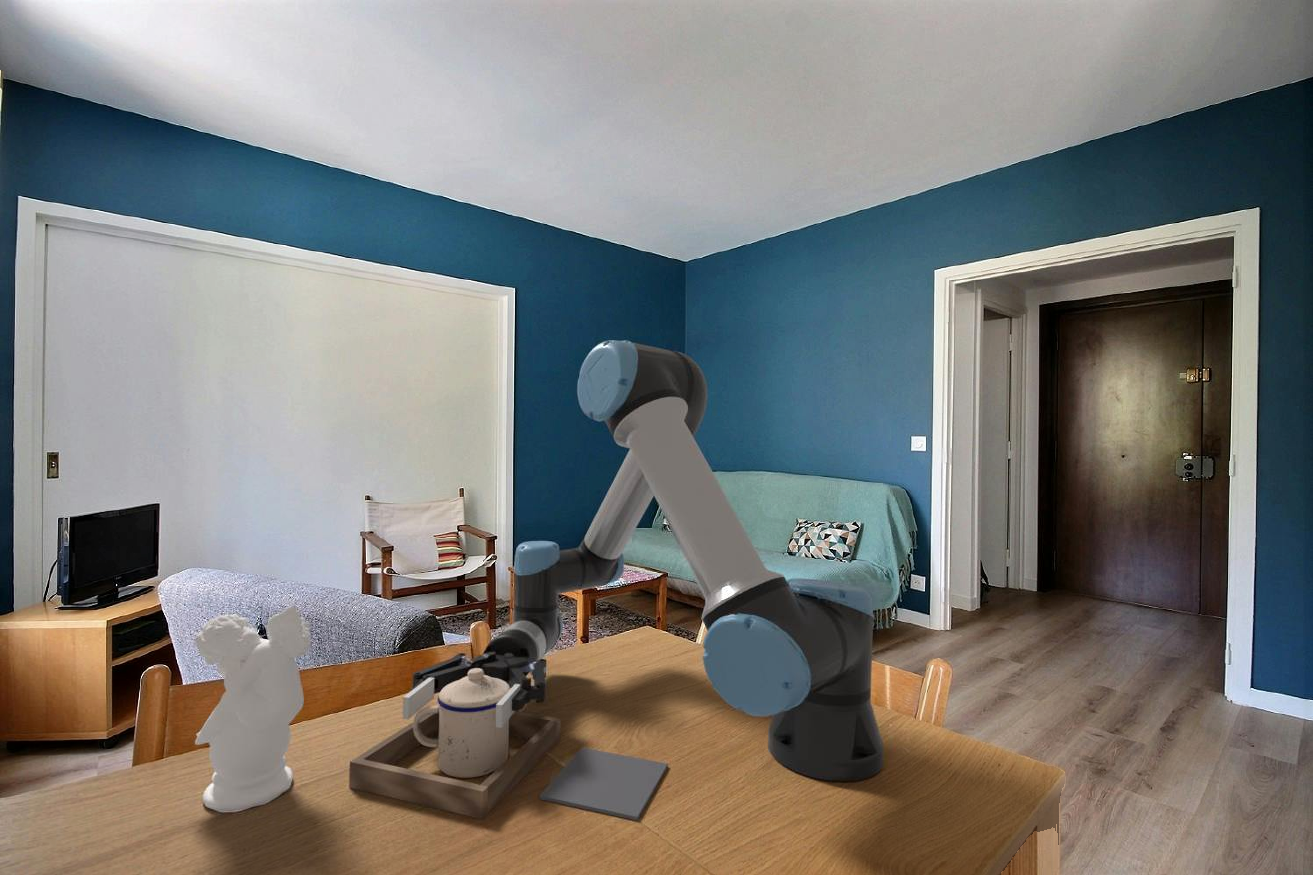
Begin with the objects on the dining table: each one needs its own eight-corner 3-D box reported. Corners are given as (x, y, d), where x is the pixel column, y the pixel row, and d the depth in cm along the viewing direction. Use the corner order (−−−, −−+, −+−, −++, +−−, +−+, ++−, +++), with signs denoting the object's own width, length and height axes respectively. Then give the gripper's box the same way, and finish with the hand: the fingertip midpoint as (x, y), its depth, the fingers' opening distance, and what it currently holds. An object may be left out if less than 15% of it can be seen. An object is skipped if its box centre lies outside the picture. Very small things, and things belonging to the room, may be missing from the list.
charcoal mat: (667, 766, 79) (667, 763, 79) (637, 820, 68) (637, 816, 68) (581, 750, 83) (582, 747, 83) (539, 798, 71) (539, 795, 71)
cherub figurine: (174, 805, 68) (178, 606, 69) (267, 751, 80) (270, 582, 81) (266, 821, 66) (270, 614, 66) (348, 763, 78) (351, 588, 78)
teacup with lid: (510, 741, 85) (512, 656, 85) (509, 776, 76) (511, 681, 76) (417, 748, 82) (420, 660, 82) (405, 786, 73) (407, 687, 73)
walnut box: (559, 740, 85) (560, 718, 85) (482, 818, 67) (482, 791, 67) (448, 719, 91) (449, 699, 91) (349, 787, 73) (349, 761, 73)
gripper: (587, 681, 95) (544, 751, 74) (442, 671, 98) (360, 734, 77) (589, 633, 95) (546, 688, 74) (444, 623, 98) (362, 674, 77)
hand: (451, 712), depth 75 cm, fingers closed on teacup with lid, 11 cm apart
